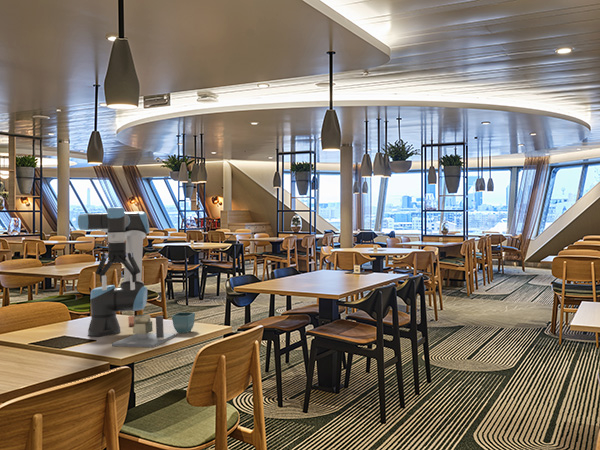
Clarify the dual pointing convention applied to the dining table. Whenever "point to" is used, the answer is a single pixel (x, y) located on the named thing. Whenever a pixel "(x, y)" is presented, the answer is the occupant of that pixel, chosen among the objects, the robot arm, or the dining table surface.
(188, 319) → the flower pot
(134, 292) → the robot arm
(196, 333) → the dining table surface
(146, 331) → the beige stepped block
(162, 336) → the grey flat base fixture
